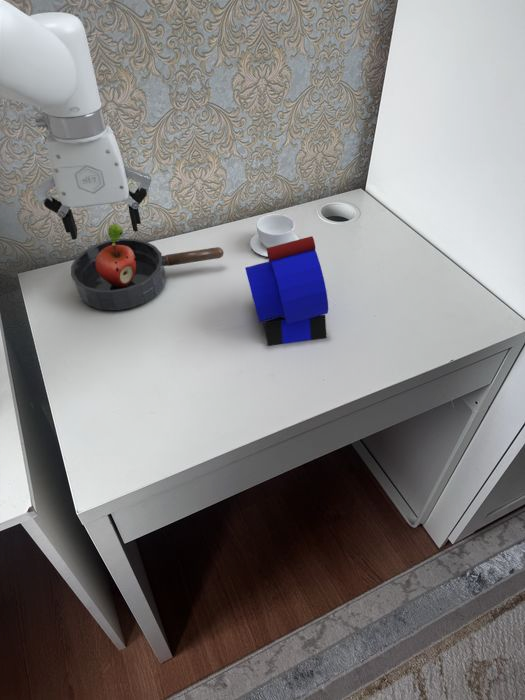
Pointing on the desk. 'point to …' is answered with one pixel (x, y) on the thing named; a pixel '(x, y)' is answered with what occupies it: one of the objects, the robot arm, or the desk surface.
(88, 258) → the pan
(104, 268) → the apple
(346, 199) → the desk surface
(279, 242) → the teacup
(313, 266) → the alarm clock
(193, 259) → the pan handle
